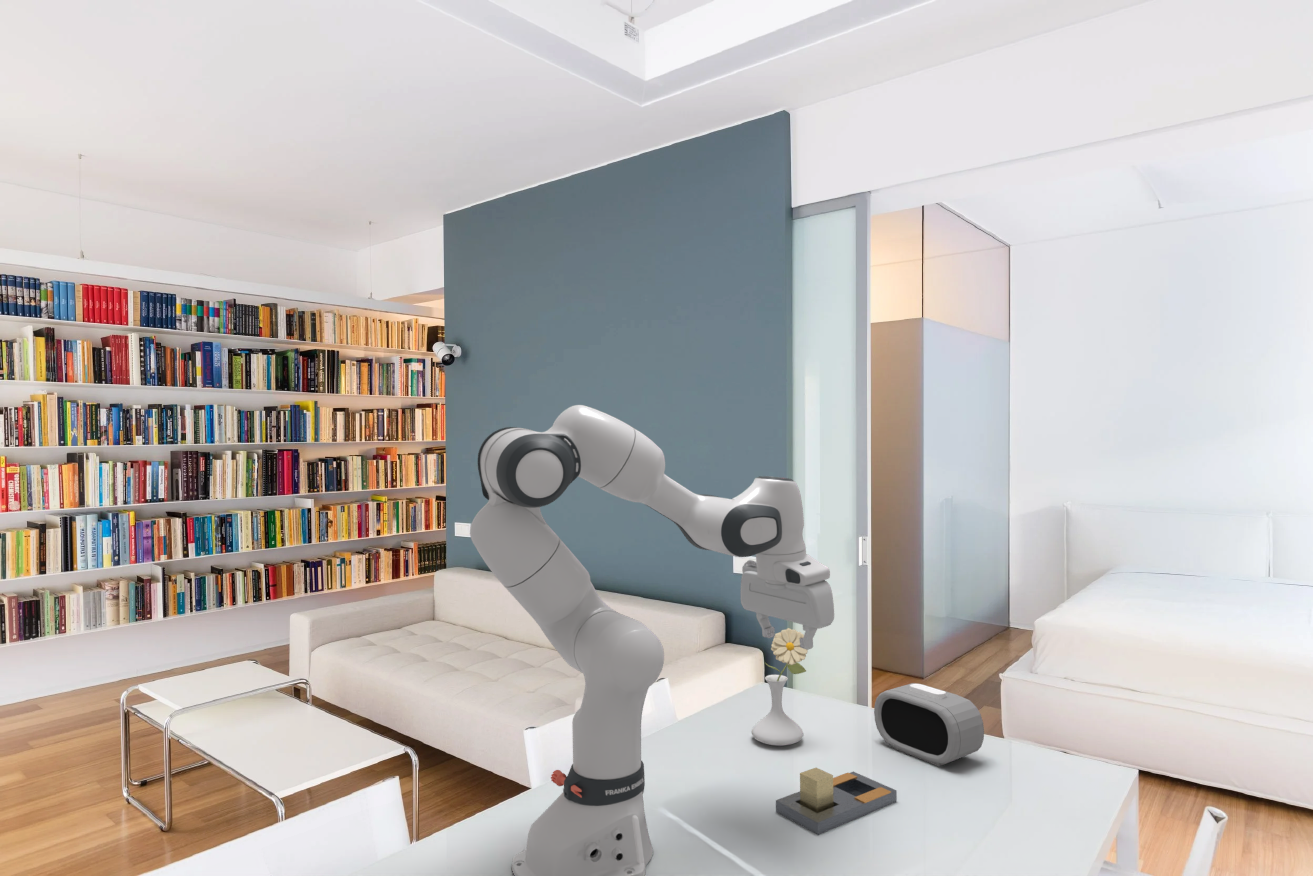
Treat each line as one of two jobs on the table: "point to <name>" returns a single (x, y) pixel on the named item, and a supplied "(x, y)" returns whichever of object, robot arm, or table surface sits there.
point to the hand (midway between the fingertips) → (787, 642)
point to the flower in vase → (777, 723)
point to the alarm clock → (929, 723)
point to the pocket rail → (839, 803)
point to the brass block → (816, 790)
